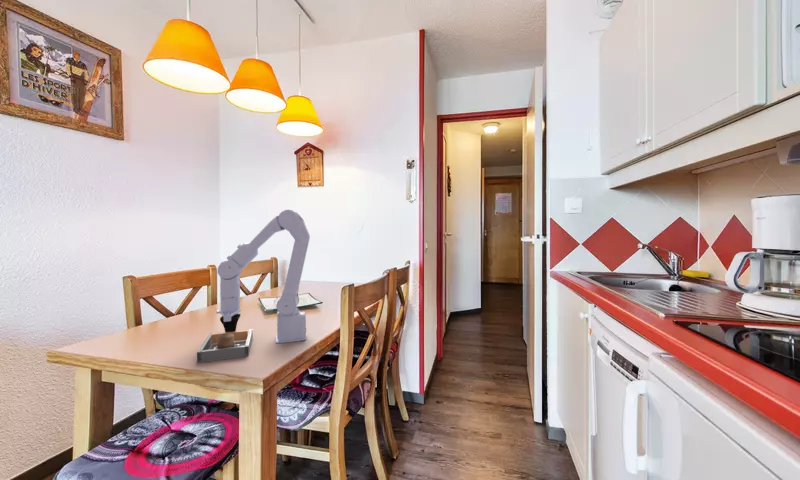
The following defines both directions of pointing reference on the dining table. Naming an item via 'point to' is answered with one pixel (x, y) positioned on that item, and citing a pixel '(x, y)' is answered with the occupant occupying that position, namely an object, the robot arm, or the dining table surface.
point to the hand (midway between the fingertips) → (230, 337)
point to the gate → (237, 334)
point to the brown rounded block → (225, 341)
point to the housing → (224, 349)
